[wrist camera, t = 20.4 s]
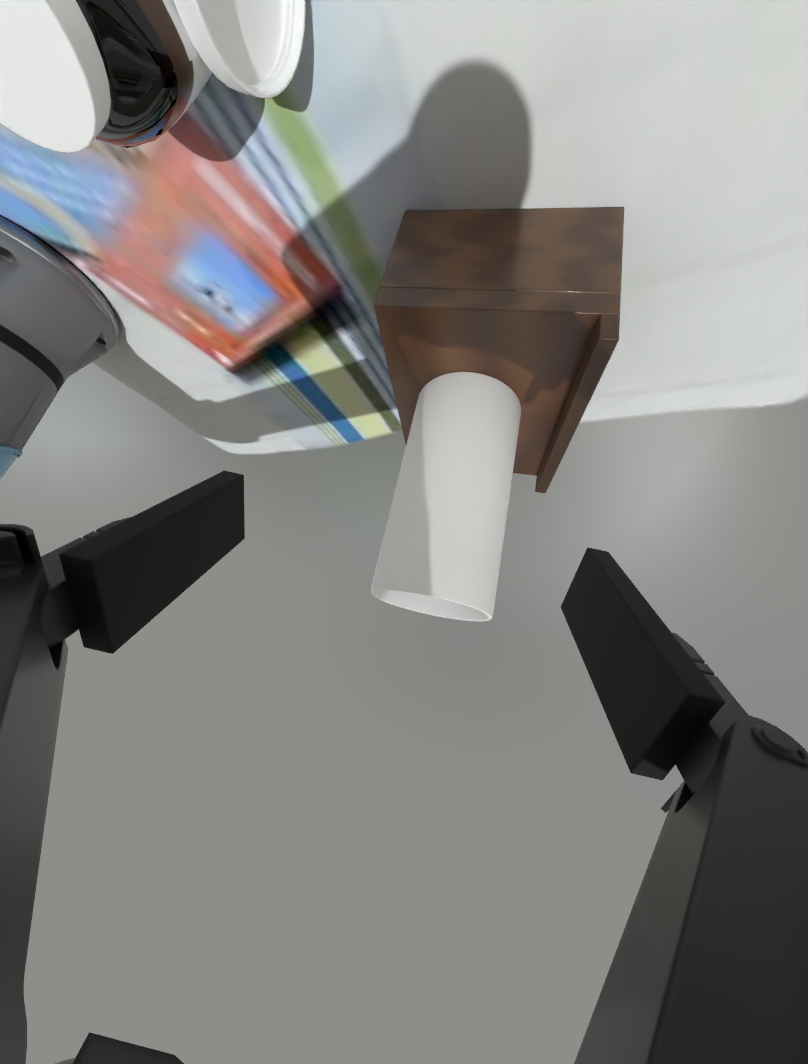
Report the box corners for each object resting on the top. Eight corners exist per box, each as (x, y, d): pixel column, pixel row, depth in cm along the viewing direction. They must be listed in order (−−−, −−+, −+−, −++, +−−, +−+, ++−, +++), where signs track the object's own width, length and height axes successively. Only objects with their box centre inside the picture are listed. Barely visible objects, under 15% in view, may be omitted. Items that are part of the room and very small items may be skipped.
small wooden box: (425, 392, 43) (405, 475, 39) (404, 210, 26) (366, 327, 22) (555, 402, 40) (545, 493, 36) (624, 206, 23) (619, 339, 20)
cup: (535, 382, 26) (506, 612, 21) (506, 446, 34) (480, 625, 29) (419, 363, 27) (362, 581, 21) (416, 430, 34) (375, 602, 29)
